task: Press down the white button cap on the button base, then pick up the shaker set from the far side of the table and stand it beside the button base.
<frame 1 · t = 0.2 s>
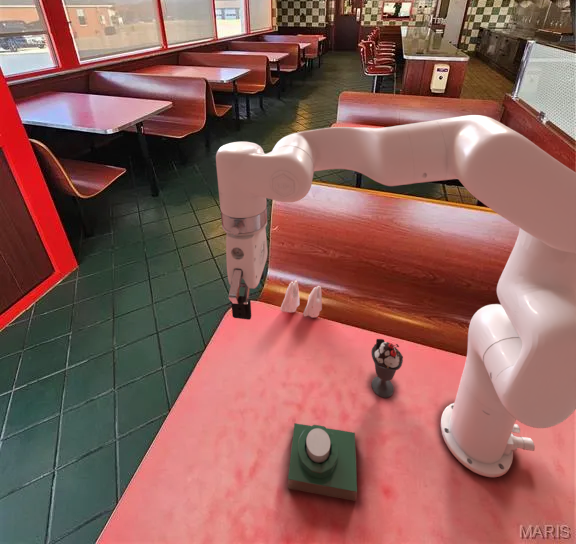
hand: (249, 296, 61), 31 cm above the table, tool pointing down, fingers open, 9 cm apart
button base: (322, 464, 62), on the table
sundae: (382, 387, 76), on the table
shaker set: (301, 312, 96), on the table
white button cap: (318, 445, 60), point 6 cm above the table, slide at 0.1 cm
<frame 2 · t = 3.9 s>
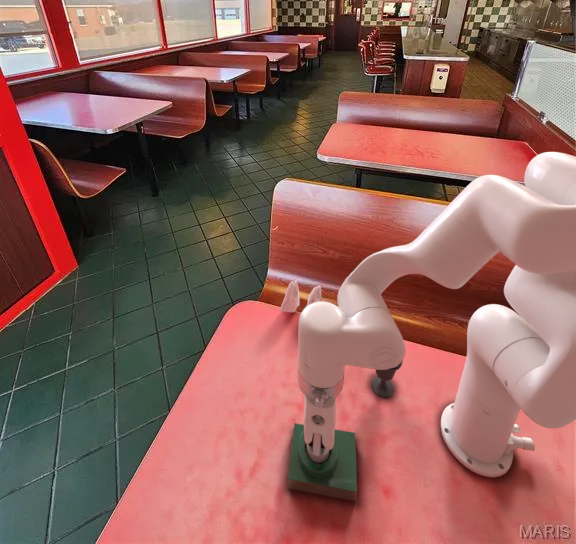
hand: (317, 442, 60), 7 cm above the table, tool pointing down, fingers closed
white button cap: (318, 445, 61), point 5 cm above the table, slide at -0.1 cm, touching gripper
everything else where it was.
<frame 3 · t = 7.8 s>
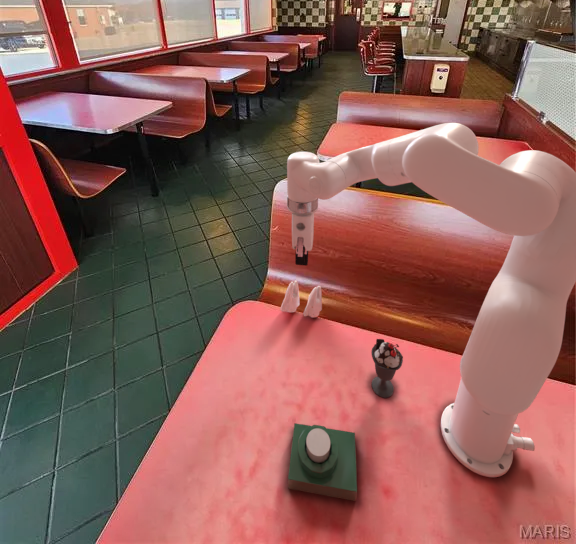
hand: (301, 263, 87), 19 cm above the table, tool pointing down, fingers closed
white button cap: (318, 445, 60), point 6 cm above the table, slide at 0.1 cm
everything else where it was.
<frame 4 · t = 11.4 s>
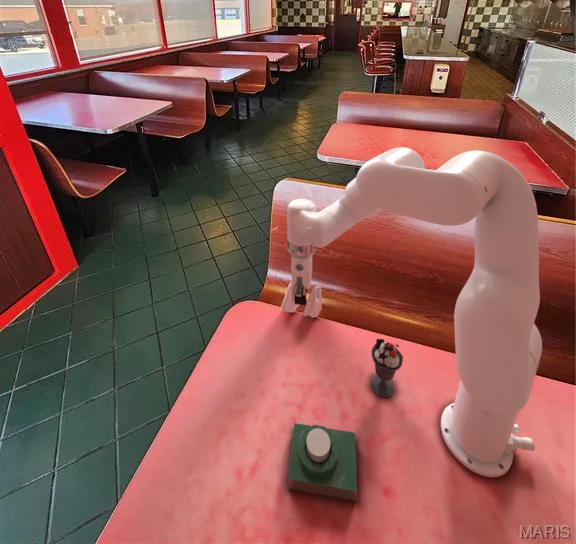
hand: (301, 296, 94), 6 cm above the table, tool pointing down, fingers closed on shaker set, 4 cm apart
shaker set: (301, 312, 96), on the table, touching gripper
everything else where it was.
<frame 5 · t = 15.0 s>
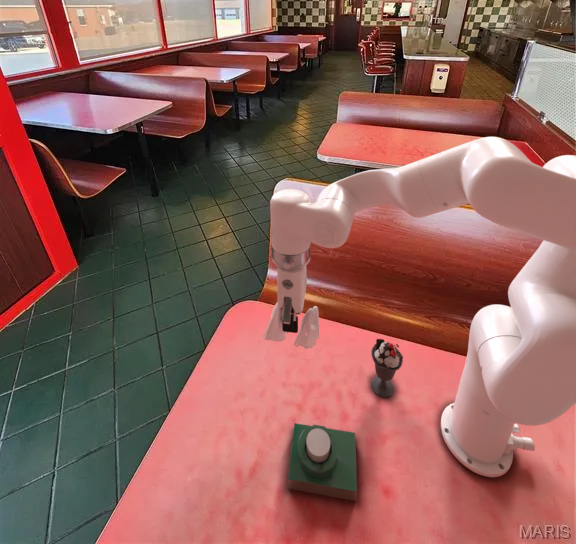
hand: (291, 320, 71), 19 cm above the table, tool pointing down, fingers closed on shaker set, 4 cm apart
shaker set: (292, 340, 73), point 13 cm above the table, touching gripper
everything else where it was.
when the fingers open (6 cm above the table, at t = 18.4 s): shaker set stays where it is, on the table.
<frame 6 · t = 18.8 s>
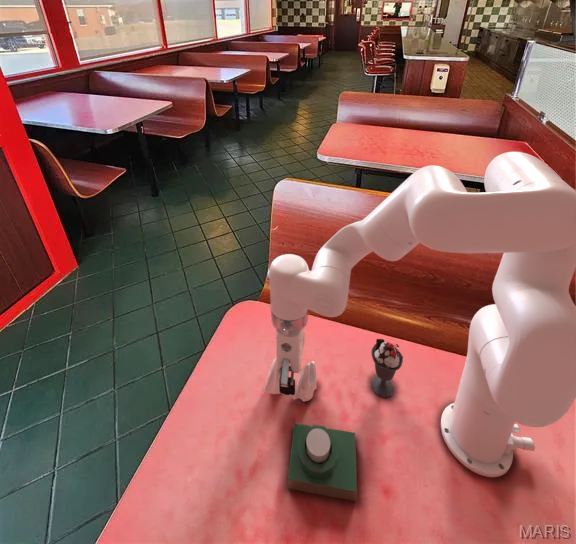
hand: (290, 372, 73), 6 cm above the table, tool pointing down, fingers open, 8 cm apart
shaker set: (290, 392, 75), on the table
everything else where it was.
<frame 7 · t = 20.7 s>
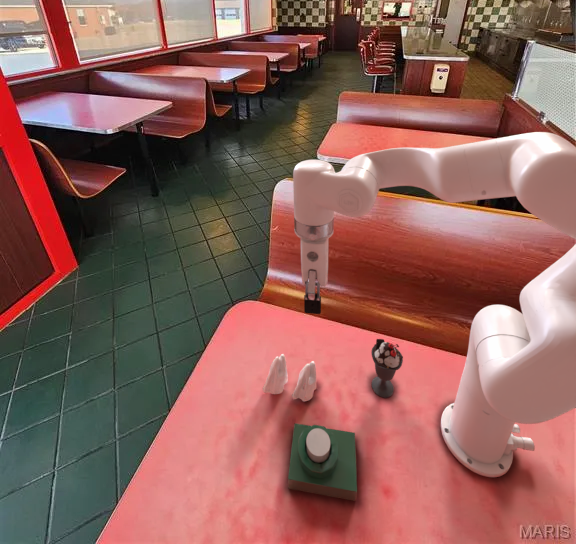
hand: (313, 294, 69), 25 cm above the table, tool pointing down, fingers open, 9 cm apart
nothing on the table moved.
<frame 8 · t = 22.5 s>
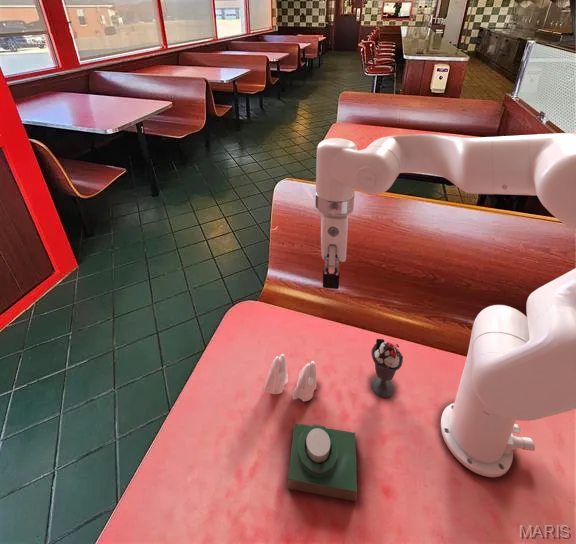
hand: (331, 271, 71), 28 cm above the table, tool pointing down, fingers open, 9 cm apart
nothing on the table moved.
at the end: white button cap pushed in 1.3 cm at the most during the clip, back to where it started at the end; white button cap slide at 0.1 cm; shaker set inside the target area on the table beside the button base (0.1 cm from its centre), on the table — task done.
